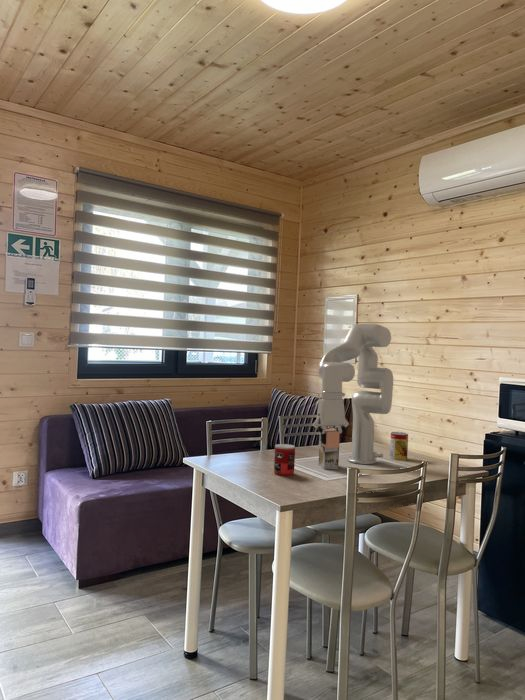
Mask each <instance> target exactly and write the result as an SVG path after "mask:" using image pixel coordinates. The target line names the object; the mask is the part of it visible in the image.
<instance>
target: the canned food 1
mask: <svg viewBox="0 0 525 700" xmlns="http://www.w3.org/2000/svg"><path fill="white" fill-rule="evenodd" d="M273 456H274V460H273V462H274V463H273V473H274V474H275V475H276V476H281V477H290V476H293V475H294V474H295V463H296V462H295V461H296V460H295V459H296V458H295V457H296V445H293V444H286V443H277V444H275V445H274V455H273Z"/></svg>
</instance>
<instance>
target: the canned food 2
mask: <svg viewBox="0 0 525 700" xmlns="http://www.w3.org/2000/svg"><path fill="white" fill-rule="evenodd" d="M389 441H390V443H389V444H390V447H389V459H390V460H394V461H402V462H403V461H407V460H408V447H409V446H408V445H409V433H408V432H403V431H391V432H390V440H389Z"/></svg>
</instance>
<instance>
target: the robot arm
mask: <svg viewBox="0 0 525 700" xmlns="http://www.w3.org/2000/svg"><path fill="white" fill-rule="evenodd" d="M391 341H392V333H391V331H390V329H389V328H388V327H385V326H384V325H381V324H377V323H356V324H353V325H351V326H350V328H349V329H348V331H347V333H346V335H345V337H344V339H343V341H342V343H341V344H340V345H336V346H335V347H334V348H331V350H329V351H327V352H326V353H325V354H324V355H323V357H322V359H321V361H320V363H319V365H318V369H317V373H318V376H319V378H320V379H321V380H322V382H321V383H322V384H321V398H320V399H319V400H318V404H317V412H316V419H315V420H314V422H313V423H312V426H313V427H314V428H315V429H316V430H317V431H318V432H319V434H320V433H321V437H320V436H319V439H320V441H321V443H322V444H326V434H325V431H326V428H328V427H334V428H335V429H336V430H337V431H339V432H340V435H339V445H340V443H341V439H342V438H341V437H342V433H343V431H344V430H346V428H347V427H348V426H349V424H350V423H349V421H348V420H347V418H346V413H345V412H346V411H345V404H344V400H343V397H345V395H346V394H345V393H344V392H343V383H348V382H349V383H350V382H351V381H352V380H353V379H354V378H355V375H356V370H355V366H354V365H352V364H351V363H349V362H347V361H350V360H351V361H352V360H354V359H356V358H358V362H357V363H358V364H357V376H356V379H357V381H356V382H357V385H358V387H360V388H363V389H373V390H380V392H379V391H369V390H358V391H355V392H354V393H353V394H352V397H351V407H352V433H351V434H352V437H351V455H350V456H348V457H347V461H348V462H350V463H354V464H359V465H374V464H376V463H377V458H383V457H384V453H382V452H376V451H374V443H375V442H374V439H375V420H374V418H373V417H372V415H371V414H379V415H387V414H389V413H390V412H391V410H392V404H393V402H392V401H393V390H394V374H393V372H392V370H391V369H390V368H386V367H378V363H379V362H378V360H379V356H378V354H377V352H376V350H375V349H374V348H386V347H388V346H389V345H390V343H391ZM319 425H320V426H319Z"/></svg>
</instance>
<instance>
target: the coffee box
mask: <svg viewBox="0 0 525 700" xmlns="http://www.w3.org/2000/svg"><path fill="white" fill-rule="evenodd" d="M326 429H335V430H336V428H335V427H327V428H326ZM320 437H321V433H320V432H319V439H318V440H319V442H318V443H319V444H318V465H319V466H320V467H321V468H322V467H323V470H339V463H340V462H339V461H340V446H339V447H337V448H326V447H324V446H322V443H321V441H320Z"/></svg>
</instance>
